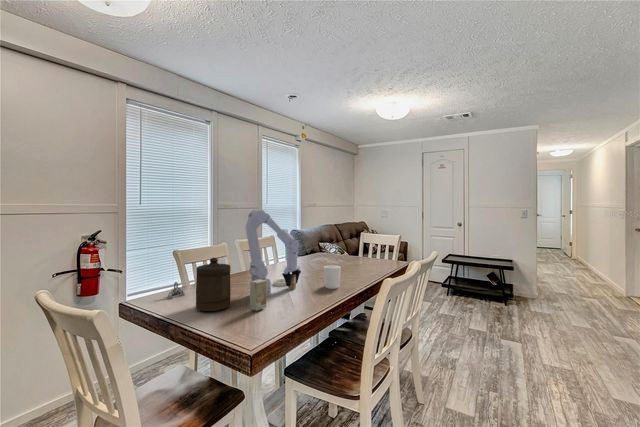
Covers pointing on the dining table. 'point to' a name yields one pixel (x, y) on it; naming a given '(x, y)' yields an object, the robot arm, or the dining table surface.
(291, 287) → the brown rectangular block
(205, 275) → the wooden container
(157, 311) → the dining table surface
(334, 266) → the candle holder
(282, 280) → the jar dish
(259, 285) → the skincare box
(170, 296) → the house of cards
